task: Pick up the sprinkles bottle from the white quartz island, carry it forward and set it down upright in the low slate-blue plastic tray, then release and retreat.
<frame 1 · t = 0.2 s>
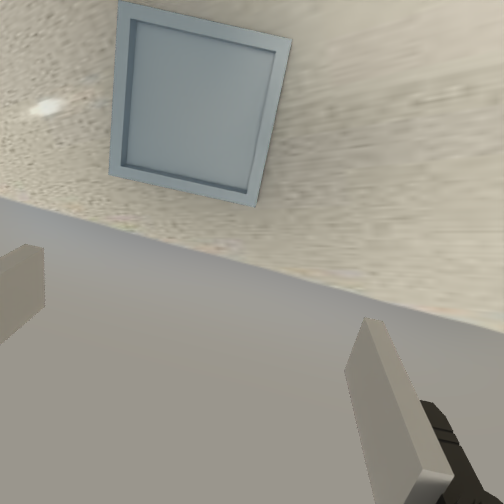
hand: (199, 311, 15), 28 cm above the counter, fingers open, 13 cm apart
tray: (197, 112, 38), on the counter
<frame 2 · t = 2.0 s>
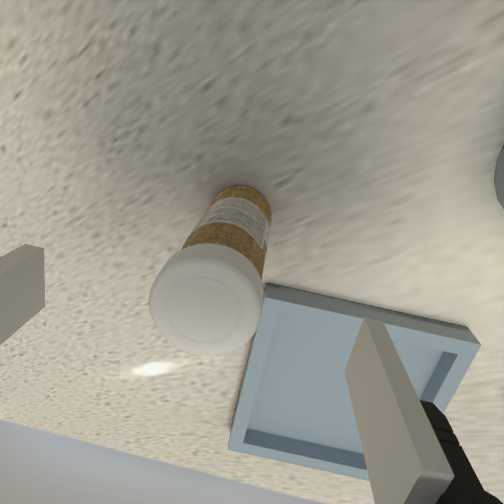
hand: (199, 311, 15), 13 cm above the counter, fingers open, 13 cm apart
sprinkles bottle: (241, 213, 27), on the counter
tray: (337, 383, 32), on the counter
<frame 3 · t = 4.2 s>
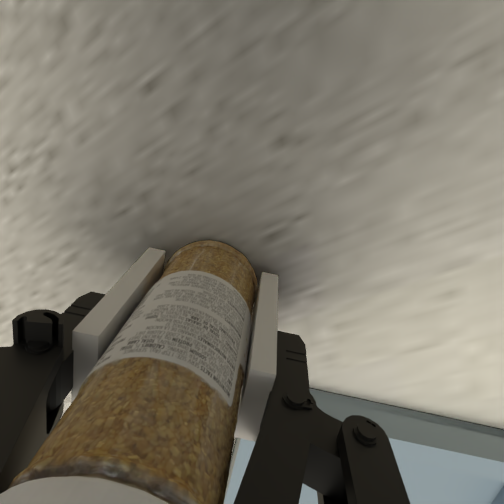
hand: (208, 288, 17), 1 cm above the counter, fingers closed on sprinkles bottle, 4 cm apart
sprinkles bottle: (212, 279, 18), on the counter, touching gripper
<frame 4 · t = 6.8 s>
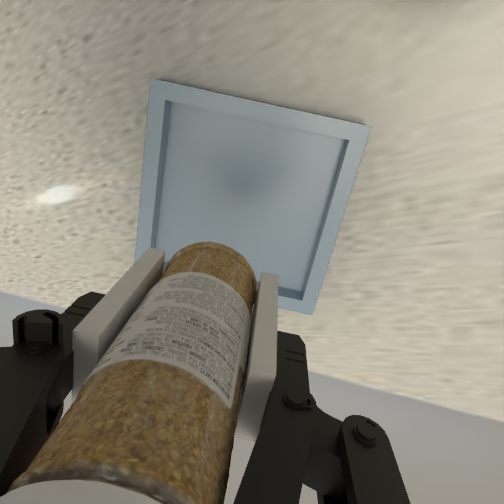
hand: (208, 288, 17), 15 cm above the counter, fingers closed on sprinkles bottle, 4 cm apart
sprinkles bottle: (212, 280, 18), point 15 cm above the counter, touching gripper
tray: (242, 202, 31), on the counter
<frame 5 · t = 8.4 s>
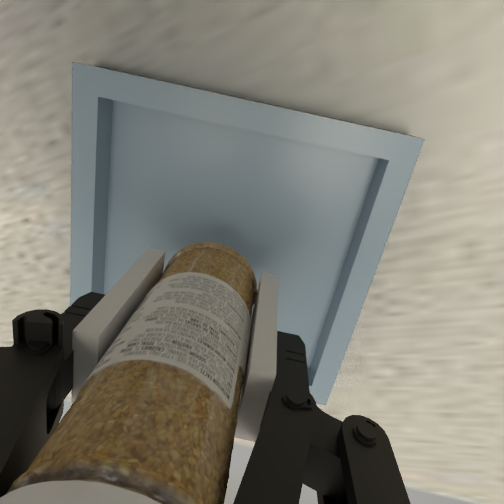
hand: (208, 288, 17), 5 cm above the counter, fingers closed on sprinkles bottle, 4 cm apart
sprinkles bottle: (212, 280, 18), point 4 cm above the counter, touching gripper
tray: (225, 246, 21), on the counter
when the fingers open (3 cm above the counter, at t = 9.6 s): sprinkles bottle drops 1 cm, resting on tray.
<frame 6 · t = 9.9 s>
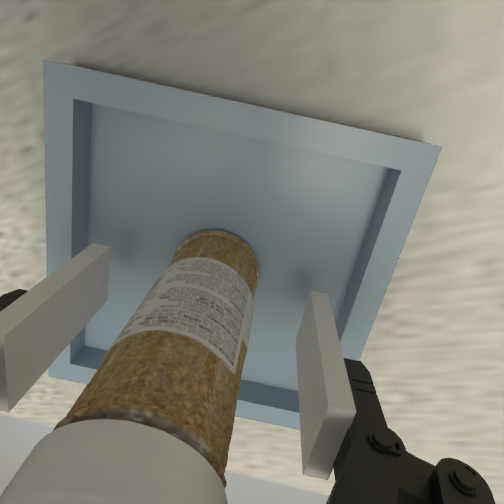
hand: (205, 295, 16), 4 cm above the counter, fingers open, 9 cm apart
sprinkles bottle: (217, 266, 19), resting on tray
tray: (218, 262, 20), on the counter
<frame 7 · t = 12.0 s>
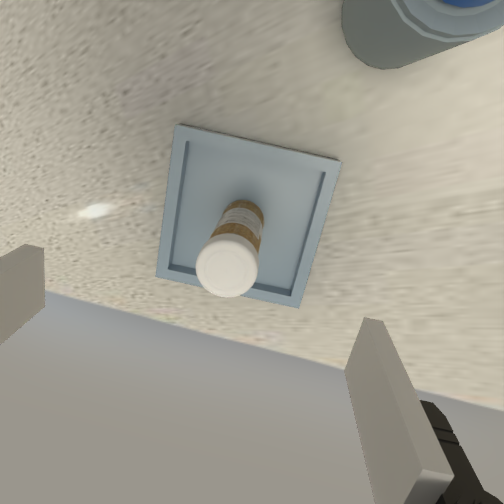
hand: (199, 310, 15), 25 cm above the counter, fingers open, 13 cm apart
sprinkles bottle: (243, 219, 39), resting on tray
tray: (243, 218, 39), on the counter
spray bottle: (392, 13, 32), on the counter
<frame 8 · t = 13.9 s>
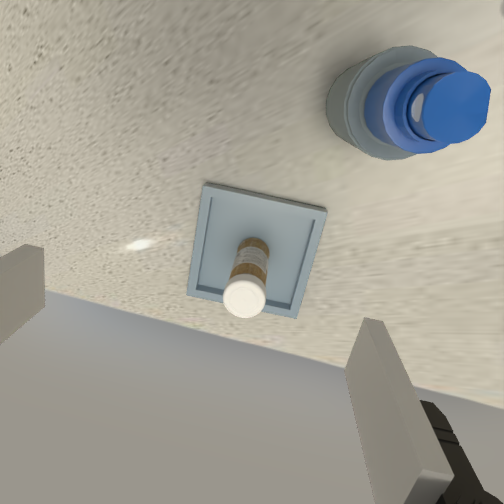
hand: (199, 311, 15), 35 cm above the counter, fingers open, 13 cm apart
sprinkles bottle: (253, 251, 51), resting on tray
tray: (253, 250, 51), on the counter
spray bottle: (363, 105, 44), on the counter
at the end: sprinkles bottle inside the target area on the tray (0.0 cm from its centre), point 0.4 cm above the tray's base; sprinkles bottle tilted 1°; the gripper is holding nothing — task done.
